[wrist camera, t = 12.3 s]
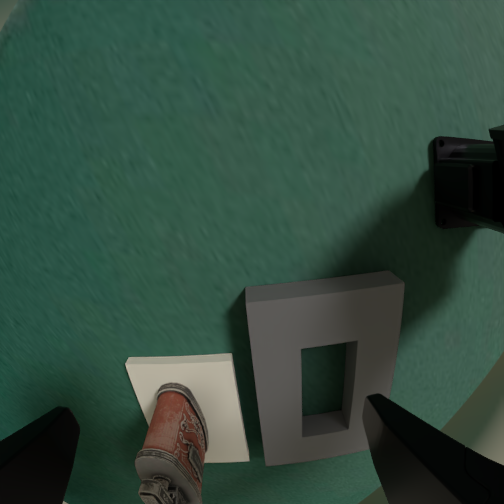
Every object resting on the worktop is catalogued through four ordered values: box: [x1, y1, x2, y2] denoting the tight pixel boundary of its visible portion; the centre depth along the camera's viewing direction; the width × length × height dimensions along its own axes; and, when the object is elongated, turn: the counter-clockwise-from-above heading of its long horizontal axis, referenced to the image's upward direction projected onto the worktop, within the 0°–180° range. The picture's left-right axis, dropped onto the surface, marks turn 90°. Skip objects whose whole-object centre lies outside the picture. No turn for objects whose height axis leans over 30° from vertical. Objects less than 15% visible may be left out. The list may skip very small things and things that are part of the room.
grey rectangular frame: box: [245, 270, 405, 466], centre depth 22 cm, size 10×16×2 cm, turn 5°
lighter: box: [135, 382, 209, 504], centre depth 18 cm, size 8×3×10 cm, turn 8°
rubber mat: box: [125, 353, 249, 463], centre depth 23 cm, size 8×12×1 cm, turn 6°
